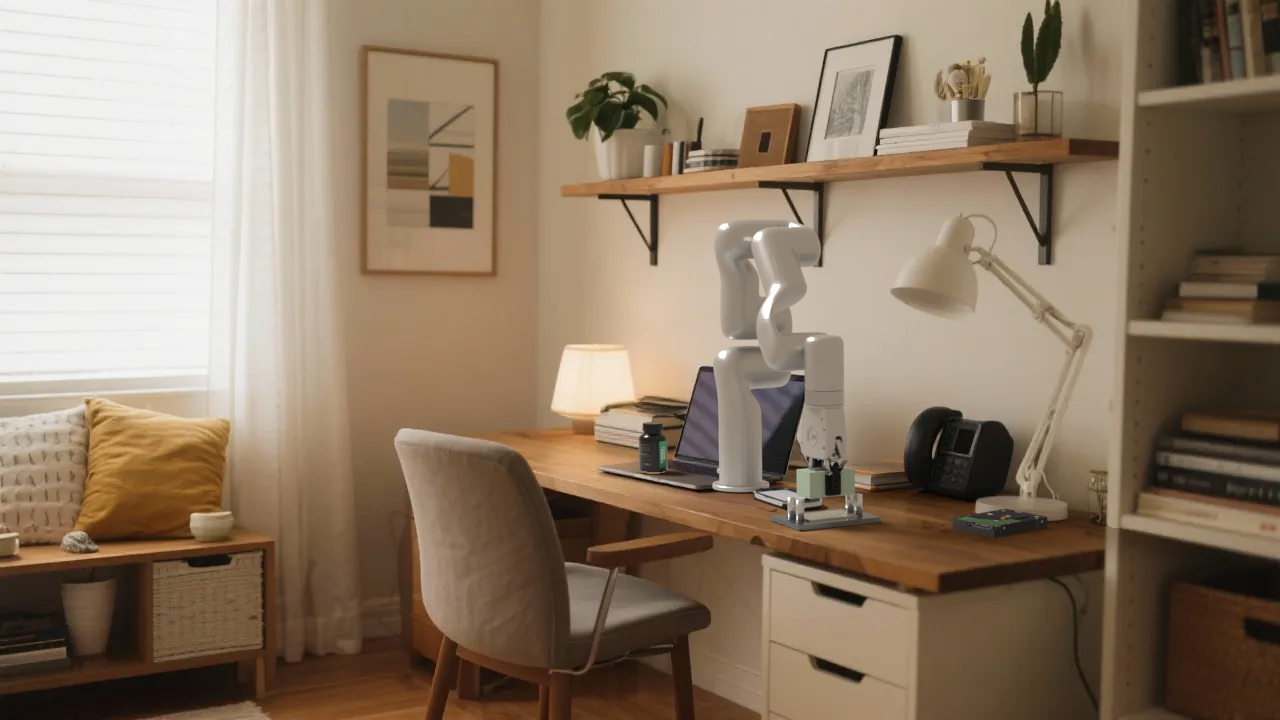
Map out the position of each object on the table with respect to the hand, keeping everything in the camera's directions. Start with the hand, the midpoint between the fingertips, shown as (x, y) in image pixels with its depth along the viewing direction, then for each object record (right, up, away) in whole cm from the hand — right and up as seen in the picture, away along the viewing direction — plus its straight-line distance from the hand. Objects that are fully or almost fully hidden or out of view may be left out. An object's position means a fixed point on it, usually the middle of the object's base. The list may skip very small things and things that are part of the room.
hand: (825, 491), depth 258 cm
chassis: (0, -6, +1) cm, 6 cm away
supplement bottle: (-33, -2, +64) cm, 72 cm away
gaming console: (-5, -5, +21) cm, 22 cm away
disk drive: (+31, -7, -9) cm, 33 cm away
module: (0, -1, 0) cm, 1 cm away
